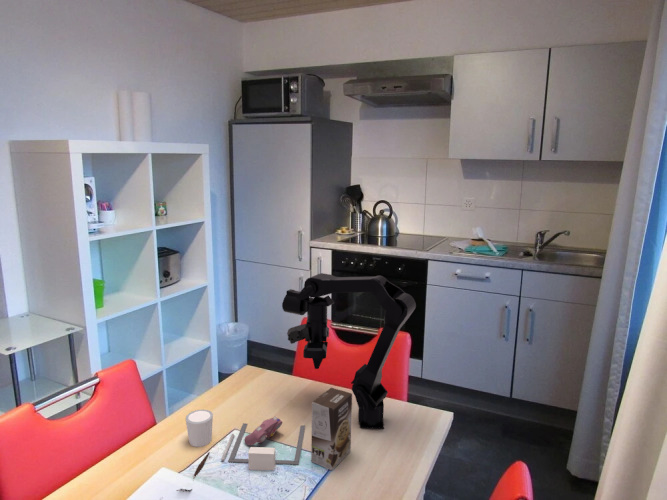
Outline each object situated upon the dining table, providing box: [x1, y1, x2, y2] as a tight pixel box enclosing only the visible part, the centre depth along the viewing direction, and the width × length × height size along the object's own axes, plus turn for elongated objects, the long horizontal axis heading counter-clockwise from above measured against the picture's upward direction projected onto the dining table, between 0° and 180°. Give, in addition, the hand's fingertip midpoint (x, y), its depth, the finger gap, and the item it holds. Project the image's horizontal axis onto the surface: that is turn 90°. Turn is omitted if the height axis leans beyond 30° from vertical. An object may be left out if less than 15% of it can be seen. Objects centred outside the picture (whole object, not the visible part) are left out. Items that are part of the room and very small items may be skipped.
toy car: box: [243, 416, 283, 446], centre depth 124 cm, size 10×5×7 cm, turn 145°
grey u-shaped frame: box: [220, 422, 306, 471], centre depth 122 cm, size 19×19×4 cm
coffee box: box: [310, 387, 353, 471], centre depth 117 cm, size 9×6×16 cm
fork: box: [176, 451, 210, 493], centre depth 111 cm, size 3×16×2 cm, turn 173°
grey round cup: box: [185, 409, 214, 448], centre depth 123 cm, size 7×7×7 cm
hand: (316, 368), depth 139 cm, fingers closed
